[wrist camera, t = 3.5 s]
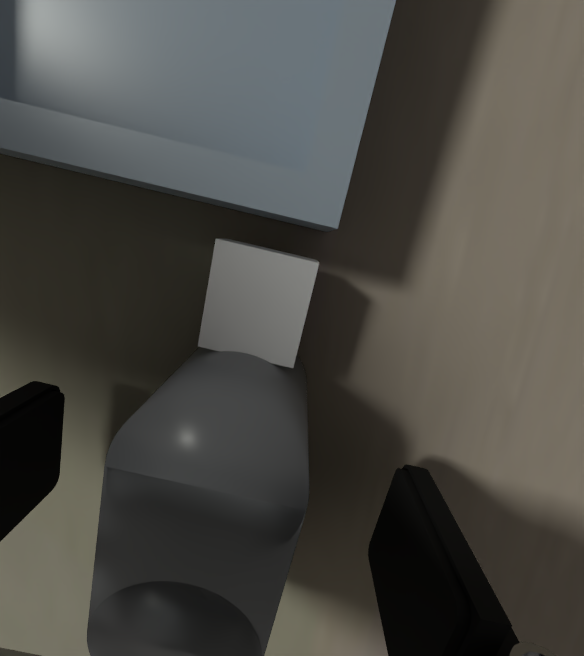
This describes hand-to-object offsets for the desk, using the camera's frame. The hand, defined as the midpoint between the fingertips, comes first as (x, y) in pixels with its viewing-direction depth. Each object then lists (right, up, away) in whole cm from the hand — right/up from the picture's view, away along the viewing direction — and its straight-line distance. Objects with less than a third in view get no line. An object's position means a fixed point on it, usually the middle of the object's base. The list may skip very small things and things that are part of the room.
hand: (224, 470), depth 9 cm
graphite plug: (0, +1, +1) cm, 2 cm away
